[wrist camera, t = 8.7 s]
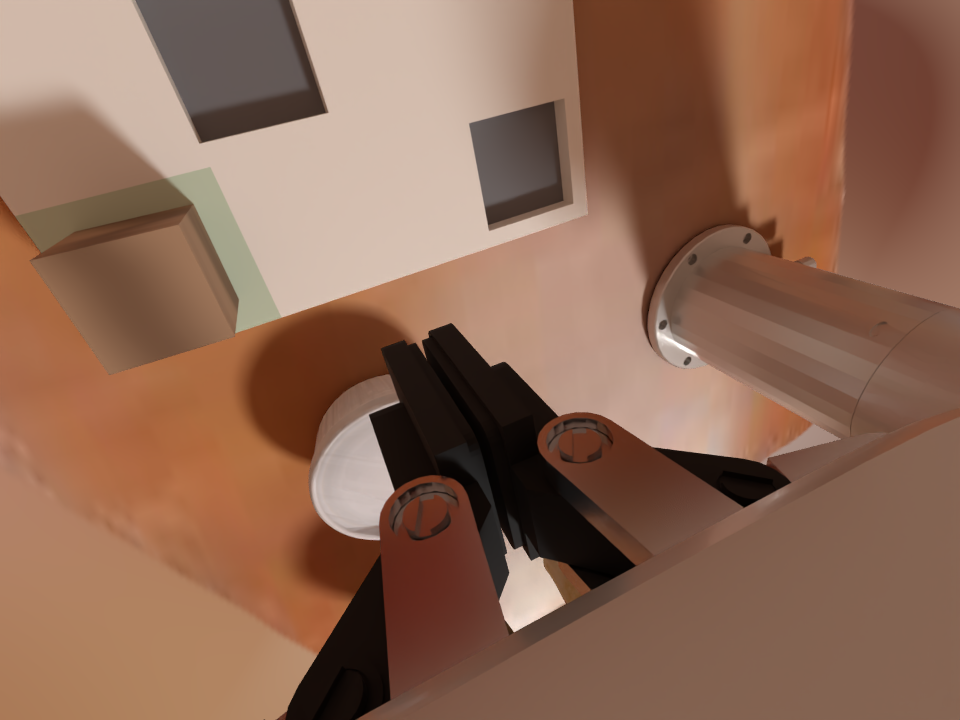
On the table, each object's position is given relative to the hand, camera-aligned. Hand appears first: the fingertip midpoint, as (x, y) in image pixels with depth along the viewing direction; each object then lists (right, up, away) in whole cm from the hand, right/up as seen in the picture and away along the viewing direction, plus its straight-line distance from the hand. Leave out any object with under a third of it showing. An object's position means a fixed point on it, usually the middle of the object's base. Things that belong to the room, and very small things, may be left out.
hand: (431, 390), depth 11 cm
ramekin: (-6, -4, +23) cm, 24 cm away
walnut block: (-14, +5, +12) cm, 19 cm away
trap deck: (-7, +12, +14) cm, 20 cm away
